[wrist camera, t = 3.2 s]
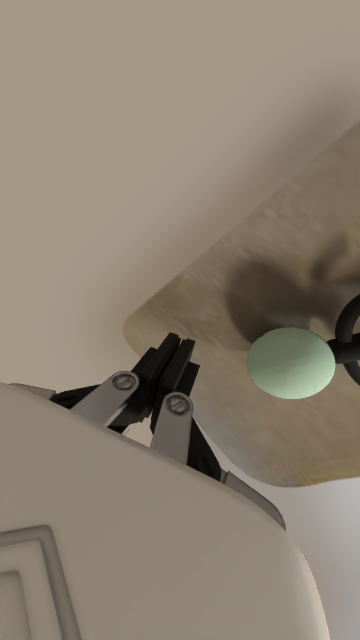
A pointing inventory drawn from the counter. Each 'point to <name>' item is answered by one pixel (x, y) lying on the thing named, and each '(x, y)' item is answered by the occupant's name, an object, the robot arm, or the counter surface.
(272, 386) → the toy
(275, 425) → the counter surface
